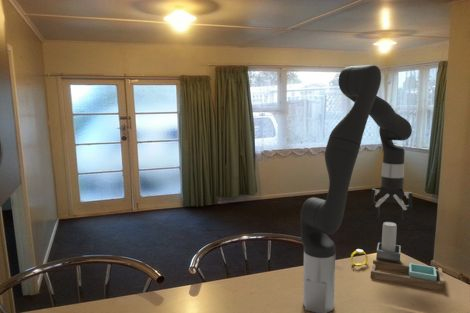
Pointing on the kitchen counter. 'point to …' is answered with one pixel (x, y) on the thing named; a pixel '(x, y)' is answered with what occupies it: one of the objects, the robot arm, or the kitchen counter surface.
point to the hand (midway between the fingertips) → (390, 217)
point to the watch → (360, 253)
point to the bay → (405, 279)
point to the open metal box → (388, 254)
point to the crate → (422, 272)
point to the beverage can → (389, 236)
